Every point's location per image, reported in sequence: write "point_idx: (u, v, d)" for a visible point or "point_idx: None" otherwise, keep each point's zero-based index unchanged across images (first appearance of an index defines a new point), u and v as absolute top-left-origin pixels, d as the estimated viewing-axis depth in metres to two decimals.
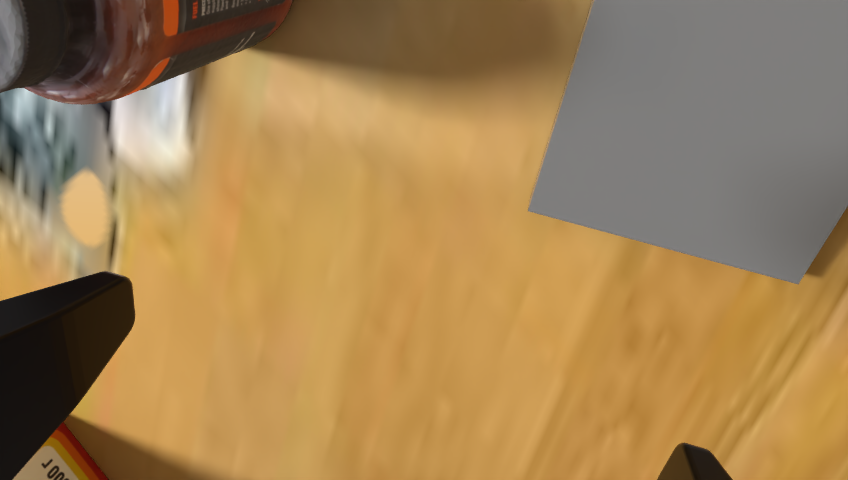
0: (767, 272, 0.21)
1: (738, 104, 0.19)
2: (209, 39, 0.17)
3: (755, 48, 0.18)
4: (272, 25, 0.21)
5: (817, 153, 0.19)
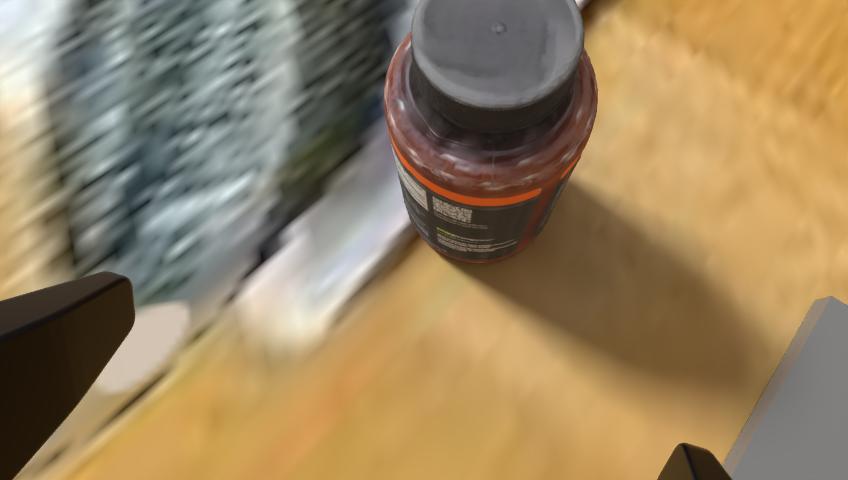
0: None
1: None
2: (534, 211, 0.18)
3: None
4: (513, 251, 0.22)
5: None
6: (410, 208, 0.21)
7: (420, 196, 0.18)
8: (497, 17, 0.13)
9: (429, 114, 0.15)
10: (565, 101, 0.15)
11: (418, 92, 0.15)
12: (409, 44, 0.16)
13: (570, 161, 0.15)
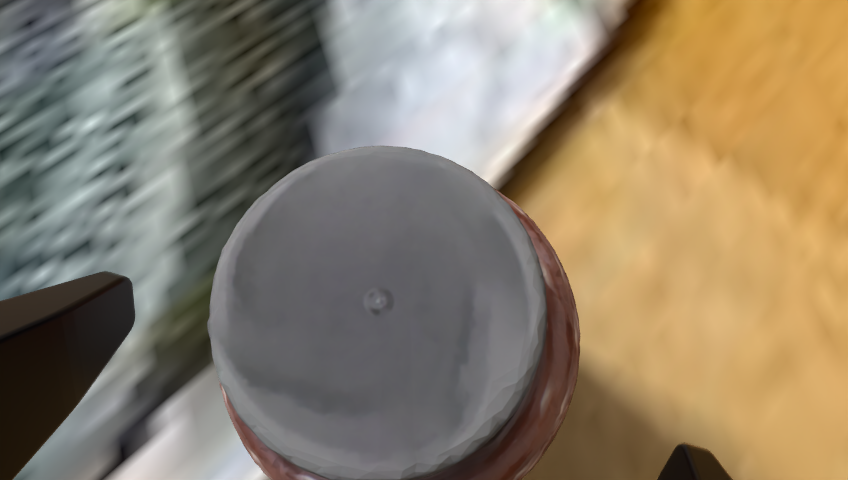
0: None
1: None
2: None
3: None
4: None
5: None
6: None
7: None
8: (376, 277, 0.07)
9: None
10: None
11: None
12: None
13: (531, 467, 0.09)
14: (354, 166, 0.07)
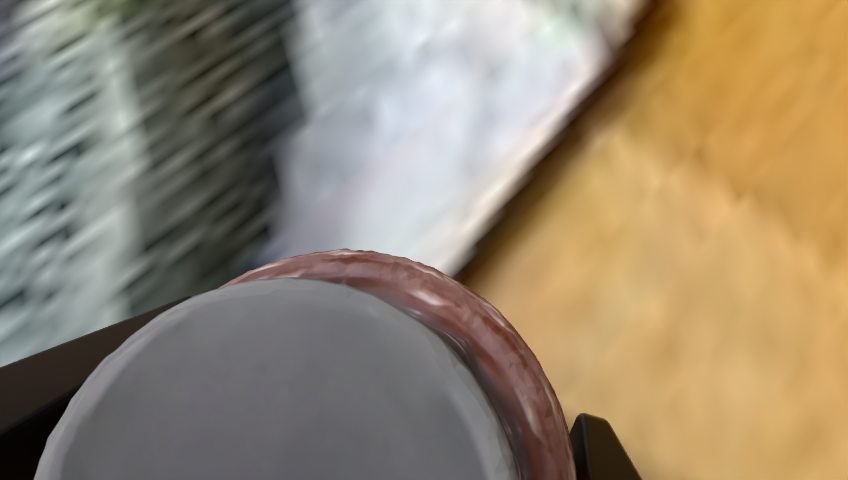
0: None
1: None
2: None
3: None
4: None
5: None
6: None
7: None
8: None
9: None
10: None
11: None
12: None
13: None
14: (244, 313, 0.05)
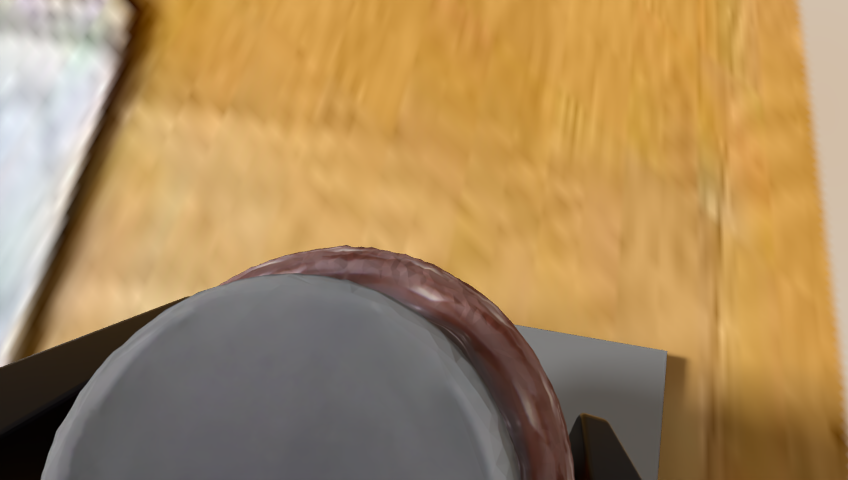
0: None
1: None
2: None
3: None
4: None
5: None
6: None
7: None
8: None
9: None
10: None
11: None
12: None
13: None
14: (249, 310, 0.05)
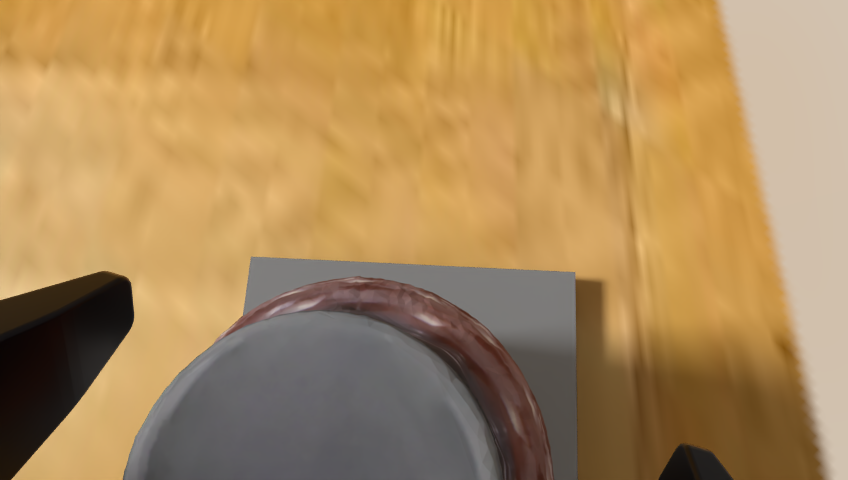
0: None
1: None
2: None
3: None
4: None
5: None
6: None
7: None
8: (309, 477, 0.06)
9: None
10: None
11: None
12: None
13: None
14: (288, 339, 0.06)
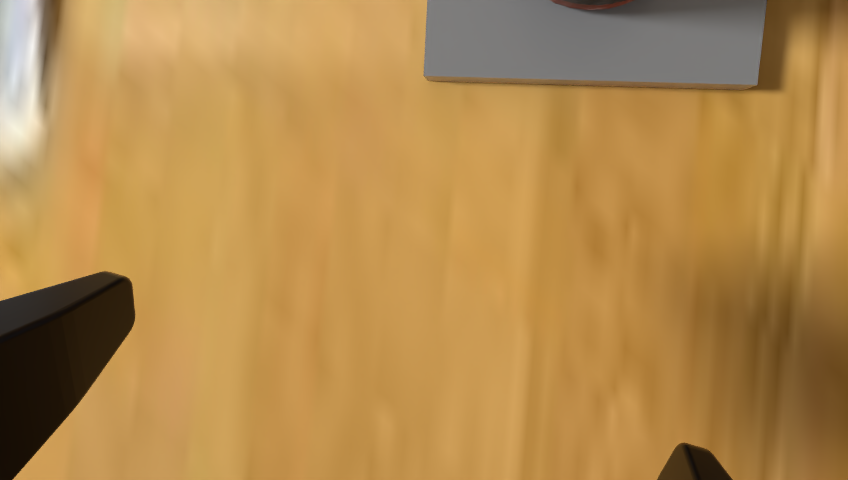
0: (716, 79, 0.17)
1: None
2: None
3: None
4: None
5: None
6: None
7: None
8: None
9: None
10: None
11: None
12: None
13: None
14: None
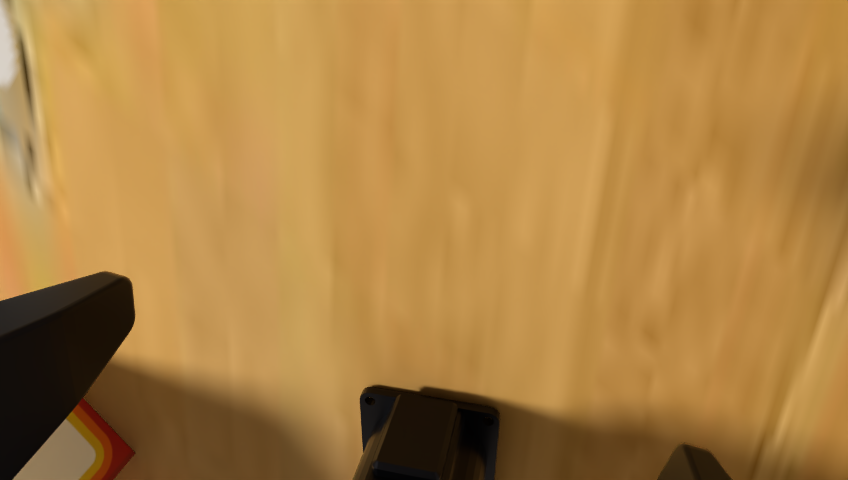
0: None
1: None
2: None
3: None
4: None
5: None
6: None
7: None
8: None
9: None
10: None
11: None
12: None
13: None
14: None
